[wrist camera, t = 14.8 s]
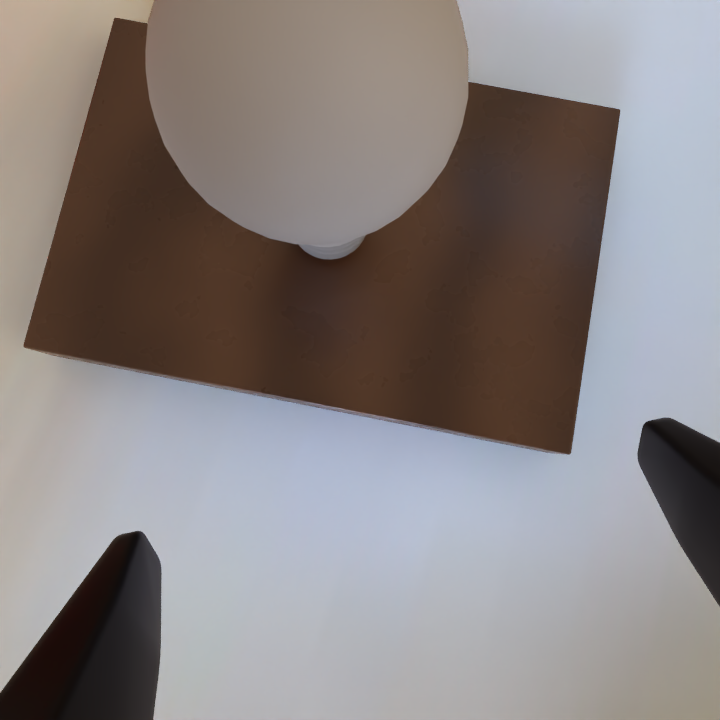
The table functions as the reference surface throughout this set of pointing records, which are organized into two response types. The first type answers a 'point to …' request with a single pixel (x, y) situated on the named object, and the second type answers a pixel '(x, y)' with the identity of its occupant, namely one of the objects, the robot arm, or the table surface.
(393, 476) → the table surface
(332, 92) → the lightbulb
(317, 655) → the table surface
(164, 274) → the walnut board
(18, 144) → the table surface
